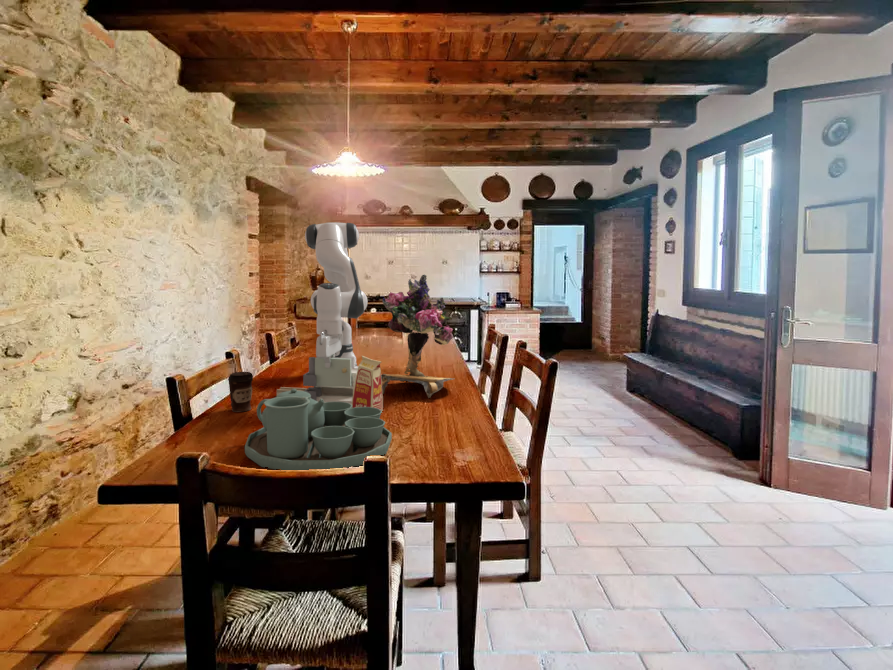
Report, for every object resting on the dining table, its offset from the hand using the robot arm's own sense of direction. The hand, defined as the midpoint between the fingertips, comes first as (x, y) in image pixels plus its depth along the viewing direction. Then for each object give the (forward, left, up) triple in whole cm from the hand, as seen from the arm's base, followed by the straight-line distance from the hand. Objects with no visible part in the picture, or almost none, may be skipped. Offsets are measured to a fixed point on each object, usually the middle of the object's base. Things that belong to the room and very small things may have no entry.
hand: (329, 366), depth 202 cm
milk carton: (+10, +17, -14) cm, 24 cm away
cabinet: (-5, 0, -14) cm, 15 cm away
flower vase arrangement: (-27, +28, -14) cm, 41 cm away
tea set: (+46, +11, -14) cm, 50 cm away
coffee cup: (+13, -27, -14) cm, 33 cm away
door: (0, 0, -7) cm, 7 cm away
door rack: (-8, -17, -14) cm, 24 cm away
